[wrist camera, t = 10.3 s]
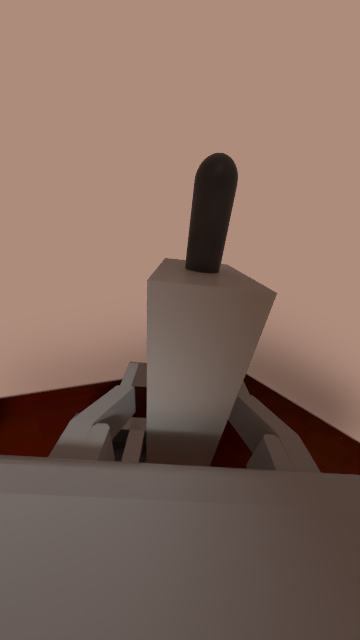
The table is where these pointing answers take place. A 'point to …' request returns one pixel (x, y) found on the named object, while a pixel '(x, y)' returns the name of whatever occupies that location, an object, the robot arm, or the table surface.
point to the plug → (200, 329)
